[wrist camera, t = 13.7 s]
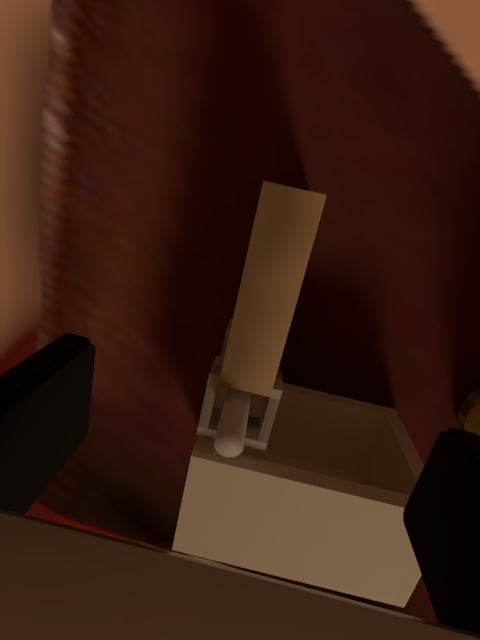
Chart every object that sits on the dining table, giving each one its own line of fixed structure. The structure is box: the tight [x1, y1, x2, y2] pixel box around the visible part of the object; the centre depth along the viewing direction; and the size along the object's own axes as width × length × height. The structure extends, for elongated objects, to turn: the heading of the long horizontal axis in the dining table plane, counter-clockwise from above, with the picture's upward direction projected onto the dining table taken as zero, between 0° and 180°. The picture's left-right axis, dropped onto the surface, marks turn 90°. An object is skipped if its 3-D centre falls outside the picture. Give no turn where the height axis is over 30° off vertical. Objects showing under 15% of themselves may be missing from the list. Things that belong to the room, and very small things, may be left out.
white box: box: [172, 382, 424, 607], centre depth 29 cm, size 16×12×14 cm
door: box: [197, 181, 327, 451], centre depth 26 cm, size 4×15×12 cm, turn 168°
